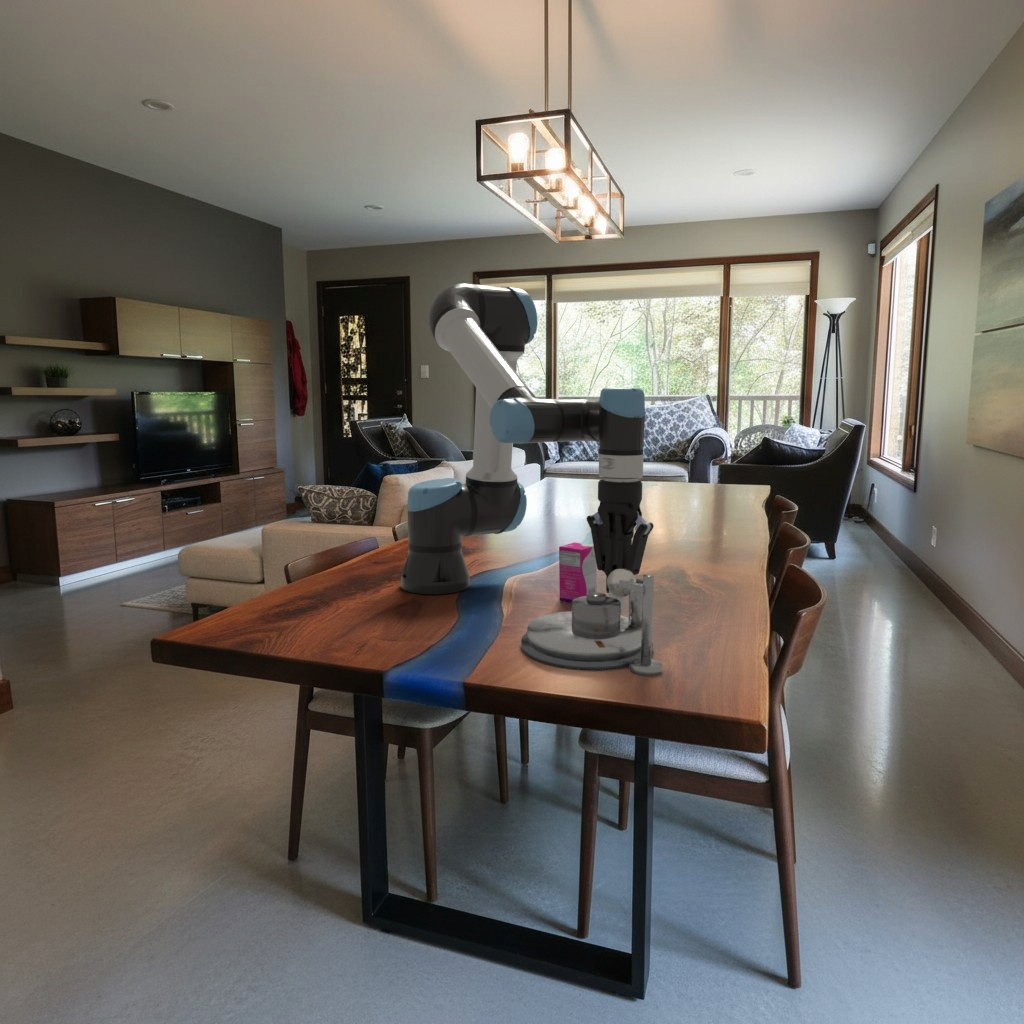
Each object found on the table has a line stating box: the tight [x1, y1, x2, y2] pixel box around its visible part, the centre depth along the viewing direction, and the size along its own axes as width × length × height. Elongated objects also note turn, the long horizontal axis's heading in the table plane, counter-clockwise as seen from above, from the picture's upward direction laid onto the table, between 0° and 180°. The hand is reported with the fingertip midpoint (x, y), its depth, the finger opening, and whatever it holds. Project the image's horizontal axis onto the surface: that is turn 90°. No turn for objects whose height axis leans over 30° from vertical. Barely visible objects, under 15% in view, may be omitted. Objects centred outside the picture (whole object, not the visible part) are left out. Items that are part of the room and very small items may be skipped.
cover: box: [571, 592, 622, 639], centre depth 125 cm, size 8×8×6 cm
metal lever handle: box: [607, 568, 663, 677], centre depth 117 cm, size 10×5×15 cm, turn 64°
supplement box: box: [558, 542, 598, 603], centre depth 156 cm, size 6×6×12 cm
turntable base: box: [520, 632, 654, 672], centre depth 127 cm, size 22×22×1 cm
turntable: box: [526, 578, 643, 660], centre depth 126 cm, size 20×20×10 cm
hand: (616, 612), depth 132 cm, fingers closed
